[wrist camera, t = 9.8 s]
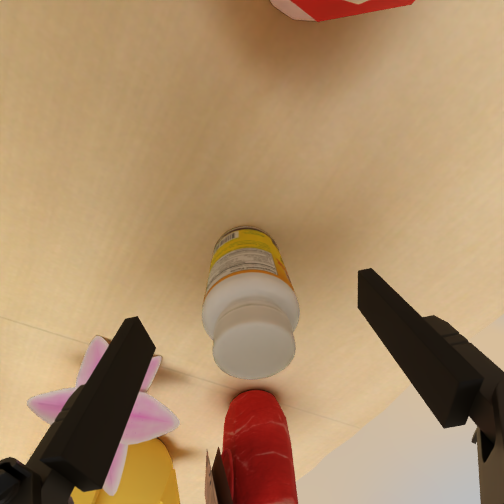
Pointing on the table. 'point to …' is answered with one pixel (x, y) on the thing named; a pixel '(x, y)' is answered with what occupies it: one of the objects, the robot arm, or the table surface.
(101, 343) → the lily
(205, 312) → the supplement bottle
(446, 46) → the table surface
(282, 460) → the water bottle
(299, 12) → the mushroom
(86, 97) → the table surface
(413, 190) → the table surface
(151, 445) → the teapot
